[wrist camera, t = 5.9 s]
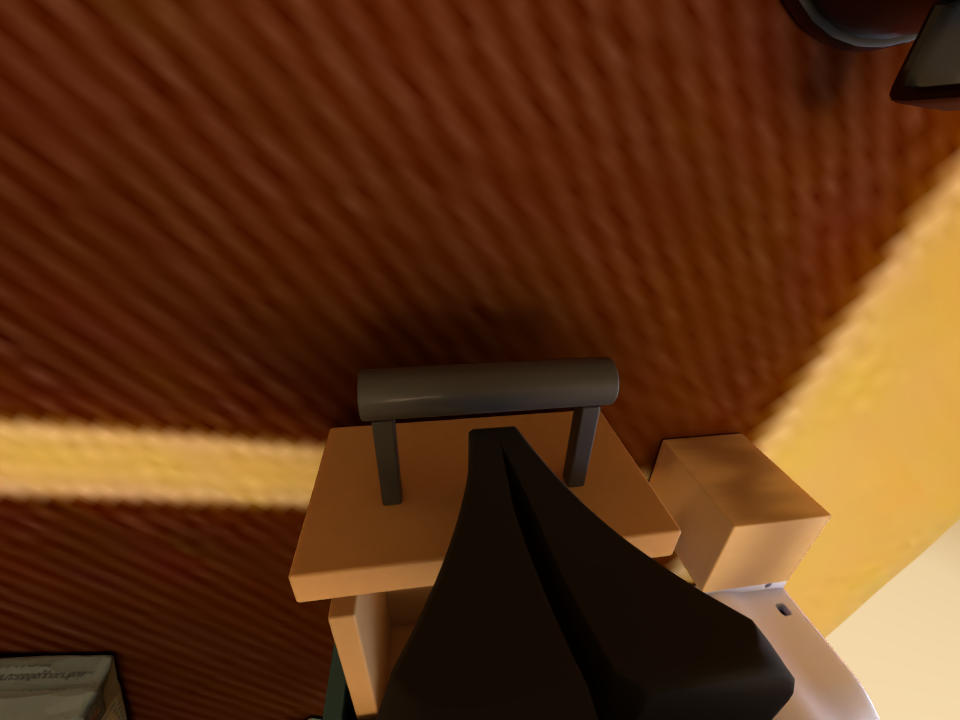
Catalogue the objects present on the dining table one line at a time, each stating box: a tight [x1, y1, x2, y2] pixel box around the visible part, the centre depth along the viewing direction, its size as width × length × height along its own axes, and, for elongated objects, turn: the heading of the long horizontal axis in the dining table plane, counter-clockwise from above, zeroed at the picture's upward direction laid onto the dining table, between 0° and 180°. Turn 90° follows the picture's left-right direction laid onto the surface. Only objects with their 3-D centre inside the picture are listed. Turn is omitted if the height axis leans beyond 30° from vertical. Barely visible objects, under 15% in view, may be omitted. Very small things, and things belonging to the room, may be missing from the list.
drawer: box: [289, 357, 681, 720], centre depth 16 cm, size 18×11×6 cm, turn 178°
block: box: [649, 433, 831, 593], centre depth 19 cm, size 4×4×5 cm
